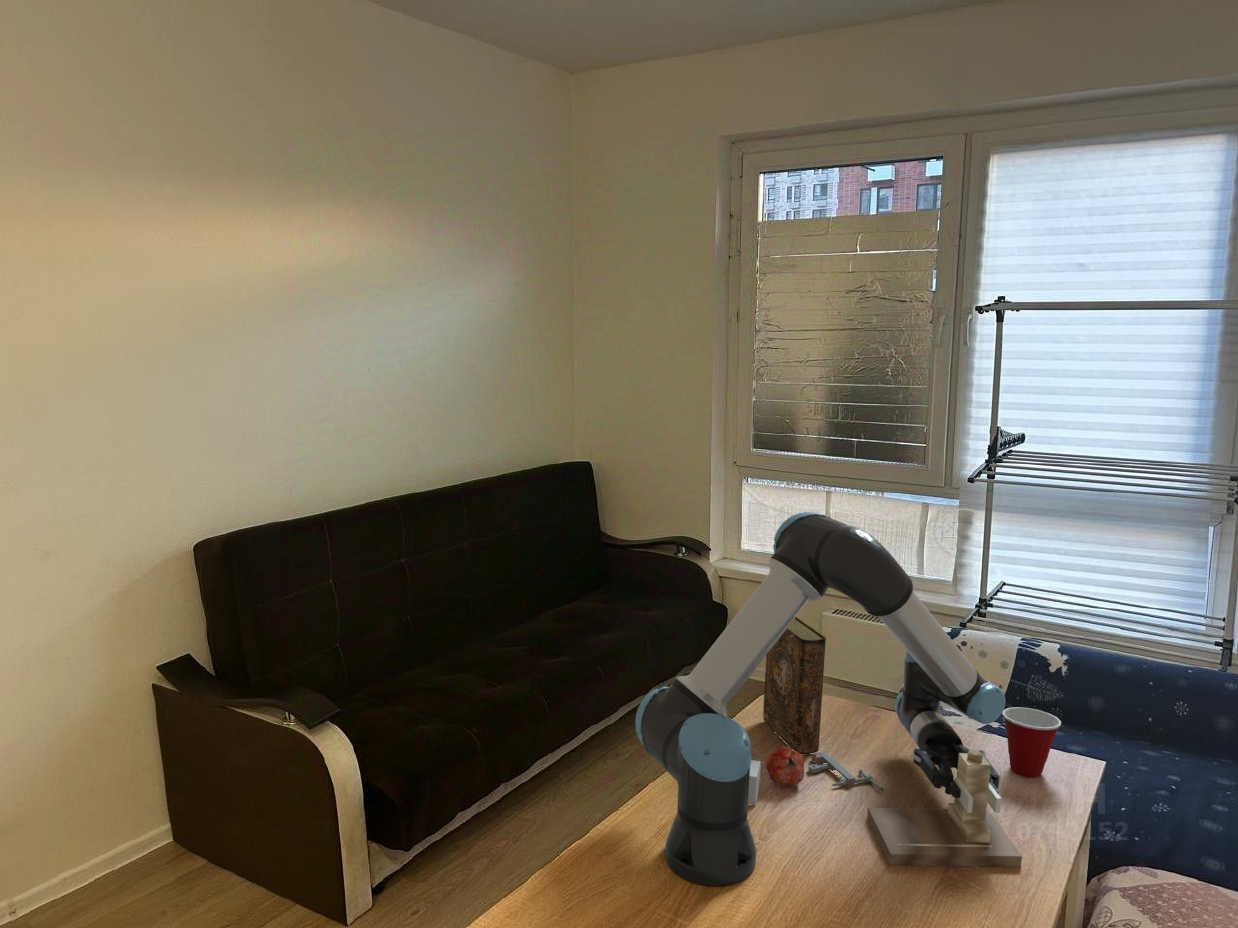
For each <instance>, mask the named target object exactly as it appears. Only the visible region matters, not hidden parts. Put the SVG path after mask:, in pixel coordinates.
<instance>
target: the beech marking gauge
mask: <svg viewBox="0 0 1238 928" xmlns="http://www.w3.org/2000/svg"><path fill="white" fill-rule="evenodd" d="M969 750H970V751H968V753H959V758H958V768H957V769H956V770H957V771H956V778H959V779H960V780H961V781H962V783H963V784H964V786H965V787H966V788H967V790H968V791H969V793H970V794H971V795H972V797H973V805H972V813H967V811H966V810H965V808H964V807H963V805H962V804H961V802H960V801H959V799H958V798H954V802H948V803H947V804H948V805H947V809H948V815H949V816H950V818H951V819H952V821H953V822H954V824H955V825H956V827H957V829H958V830H959V832H960V833H961V835H962V836H963V838H964V839H965V841H966V842H977V843H990V835H991V832H990V830H989V829H988V827H987V826H986V824H985V819H986V810H988V809H987V806H988V802H987V798H988V788H989V779H990V769H991V765H992V764H991V765H990V763H991V762H990V761H989V760H988V761H989V762H990V763H989V762H988V761H987V760H986V758H987V757H986V756H985V757H986V758H985V757H984V756H983V754H982V753H981V752H979V750H974V749H969Z"/></svg>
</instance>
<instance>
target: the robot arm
mask: <svg viewBox="0 0 1238 928" xmlns="http://www.w3.org/2000/svg"><path fill="white" fill-rule="evenodd" d="M773 540H774V544H773V546H772V547H773V554H772V555H771V556H770V558H769V559H768V564H769V565H768V566H769V572H768V574H767V575H766V576H765V577H764V579H763V580H762V582H761V583H760V584H759V586H758V587H757V588H756V590H755V591H753V593H752V594H751V596H750V597H749V598H748V600H747V601H746V602H745V603H744V604H743V606H742V607H741V609H739V611H738V612H737V613H736V615H735V616H734V617H733V619H732V620H731V621H730V623H729V624H728V625H727V626H726V627H725V629H723V631H722V633H720V635H719V636H718V638H716V640H715V642H714V643H713V644H712V645H711V646H710V648H709V649H708V650H707V651H706V653H705V654H704V656H703V657H702V658H701V659H700V661H699V662H698V663H697V664H696V666H695V667H694V668H693V670H692V671H691V672H690V673H689V674H687V675H681V676H676V677H675V678H674V680H673V681H672V682H671V684H670V685H669V686H661V687H660V688H655V689H653V690H651V691H650V692H649V693H648V694H646V696H645V697H644V698H643V699H642V700H641V702H640V704H639V706H638V708H637V711H636V714H635V723H634V724H635V732H636V736H637V738H638V740H639V741H640V743H641V744H642V745H643V747H644V749H645V750H646V752H647V753H648V754H649V755H650V756H651V757H653V758H654V759H655V760H656V761H657V762H658V763H659V764H660V765H661V766H662V767H663V769H665V770H666V772H667V773H668V774H670V776H671V777H672V778H673V779H674V780H675V781H676V783H677V810H676V815H675V817H674V819H673V822H672V824H671V827H670V830H669V832H668V835H667V837H666V841H665V853H664V854H665V861H666V863H667V865H668V866H669V868H670V869H671V870H672V872H674V874H676V875H678V876H679V877H681V878H683V879H684V880H685V881H686V880H687V881H688V882H692V883H695V884H697V885H703V886H710V887H711V886H712V887H719V886H721V887H723V886H729V885H733V884H737V883H740V882H742V881H744V880H745V879H747V878H749V877H750V875H751V874H752V873H753V872H754V870H755V869H756V868H755V867H756V864H757V863H756V862H757V861H756V860H757V848H756V844H755V840H754V837H753V833H752V831H751V828H750V827H751V826H750V823H749V820H748V813H749V812H748V811H749V805H748V795H749V776H750V765H751V760H753V759H752V752H751V751H752V750H751V740H750V736H749V734H748V732H747V731H746V729H745V728H744V726H742V725H741V724H740V723H739V722H737V721H736V720H735V719H732V718H730V717H728V709H727V708H728V705H729V704H730V703H731V701H732V700H733V698H734V697H735V696H736V695H737V693H738V692H739V691H740V690H741V688H742V687H743V686H744V685H745V684H746V682H747V681H748V679H749V678H750V677H751V676H752V674H753V673H754V672H755V670H756V669H757V668H758V667H759V665H760V664H761V662H762V661H763V660H764V659H765V657H766V655H767V653H768V652H769V651H770V649H771V648H772V647H773V646H774V644H775V643H776V642H777V640H778V639H779V638H780V637H781V635H782V634H783V633H784V631H785V630H786V629H787V628H788V626H789V625H790V624H791V622H792V621H793V620H794V618H795V617H796V616H797V617H798V614H800V612H801V611H802V610H803V608H804V607H805V606H806V604H808V602H812V601H820V600H821V599H822V598H823V596H824V595H825V593H827V591H828V590H829V589H833V590H835V591H837V592H839V593H841V594H843V595H844V596H847V597H848V598H850V599H852V600H853V601H854V602H856V603H858V604H859V605H860V606H861V607H862V608H863V610H865V611H866V613H867V614H868V615H870V616H872V617H874V618H879V619H880V621H881V622H882V623H883V624H884V625H885V626H886V628H887V629H888V630H889V631H890V632H891V634H893V636H894V637H895V638H896V640H898V642H899V643H900V644H901V645H902V646H903V648H904V649H905V650H906V652H905V659H904V668H903V669H904V672H903V683H902V684H903V685H902V687H903V688H902V692H900V693H899V695H898V697H896V699H895V702H894V709H895V714H896V715H897V717H898V720H899V721H900V723H901V725H902V726H903V727H904V728H905V730H906V732H907V733H908V734H909V735H910V737H911V739H912V740H913V742H914V743H915V744H916V746H917V747H918V748H914V749H913V759H912V762H913V763H914V764H915V765H916V766H918V767H919V768H920V769H921V771H922V772H923V774H924V775H925V776H926V778H927V779H928V780H929V781H930V783H931V784H932V786H933V788H935V789H942V788H944V789H945V790H944V793H945V794H946V795H949V796H950V795H951V796H952V797H953V798H954V799H955V798H958V799H959V801H960V802H961V804H962V805H963V807H964V808H965V810H966V811H967V813H972V805H973V797H972V795H971V794H970V793H969V791H968V790H967V788H966V787H965V786H964V784H963V783H962V781H961V780H960V779H959V778H957V777H955V776H954V774H953V770H952V768H954V769H956V770H957V768H958V758H959V753H968V751H970V750H971V749H969V748H967V747H966V746H964V744H963V741H962V739H961V738H960V736H959V735H958V734H957V732H956V731H955V730H954V728H953V726H952V725H951V724H950V723H949V721H948V720H947V719H946V718H945V717H944V715H943V714H942V713H941V704H942V703H943V704H945V705H947V706H949V707H951V708H952V709H954V710H956V711H957V712H959V713H961V714H963V715H964V716H966V717H967V718H968V719H969V720H974V721H976V722H978V723H980V724H983V725H988V724H989V725H990V724H993V723H994V722H995V721H997V720H998V719H999V717H1000V716H1001V715H1003V714H1002V713H1003V710H1005V707H1006V697H1005V693H1004V692H1003V690H1002V689H1001V688H999V687H998V686H996V685H995V684H994V683H993V682H990V681H987V680H985V679H984V678H983V677H982V675H981V673H979V672H978V670H977V669H976V668H975V667H974V666H973V665H972V663H971V662H970V661H969V660H968V659H967V657H966V656H965V654H964V653H963V652H962V651H961V649H960V648H959V647H958V645H956V643H955V642H954V641H953V640H952V638H951V636H949V635H948V633H947V632H946V631H945V630H944V628H943V627H942V625H941V624H940V623H939V622H938V620H936V618H935V616H934V615H933V613H931V612H930V611H929V609H928V608H927V607H926V605H925V604H924V602H922V601H921V599H920V598H919V597H918V596H917V594H916V593H915V592H914V589H915V588H914V582H913V581H912V578H911V577H910V576H909V575H908V573H907V572H906V571H905V570H904V568H903V567H902V566H901V564H899V562H898V561H897V560H896V559H895V557H894V556H893V555H892V554H891V553H890V551H888V550H887V549H886V547H885V546H884V545H882V543H881V542H879V540H877V539H876V538H875V537H874V536H873V535H871V534H870V533H869V532H867V531H865V530H864V529H861V528H859V527H856V526H853V525H851V524H847V523H844V522H843V521H839V520H836V519H834V518H832V517H830V516H828V515H826V514H821V513H817V512H816V513H815V512H810V511H807V512H798V513H795V514H793V515H792V516H790V517H788V518H787V519H785V520H784V521H783V522H782V524H781V525H780V526H779V527H778V529H777V530H776V533H775V534H774V539H773ZM941 702H942V703H941ZM978 751H979V752H981V753H982V754H983V756H984V757H985V758H986V760H987V761H988V762H989V763H990V765H991V769H990V779H989V788H988V798H987V805H989V807H990V808H991V810H992V811H993V812H994V814H1000V813H1001V805H1002V804H1001V803H1002V797H1001V796H1000V795H999V788H1000V787H999V786H1000V774H999V773H998V771H997V770H996V769H995V767H994V766H993V765H992V764H991V762H990V761H989V759H988V758H987V757H986V751H985V750H982V749H979V750H978Z"/></svg>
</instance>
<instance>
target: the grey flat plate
mask: <svg viewBox="0 0 1238 928" xmlns="http://www.w3.org/2000/svg"><path fill="white" fill-rule="evenodd" d="M866 816H867V817H866V819H867V820H868V822H869V825H870V827H871V829H872V831H873V833H874V835H875V837H876V839H877V842H878V843H879V845H880V848H881V850H882V852H883V854H884V856H885V858H886V860H887V862H888V865H889V866H927V867H928V866H929V867H930V866H932V867H934V866H935V867H937V866H939V867H985V868H986V867H989V868H991V867H992V868H993V867H994V868H995V867H996V868H1021V867H1022V862H1023V861H1022V859H1023V855H1022V854H1021V853H1020V851H1019V850H1018V849H1017V847H1016V846H1015V844H1014V843H1013V842H1012V840H1011V839H1010V838H1009V836H1008V835H1007V833H1006V832H1005V831H1004V829H1003V828H1002V827H1001V825H1000V824H999V822H998V821H997V820H996V818H995V816H994V815H993V814H992V813H991V812H990V810H989V809H986V819H985V824H986V826H987V827H988V829H989V830H990V832H991V835H990V843H977V842H966V841H965V839H964V838H963V836H962V835H961V833H960V832H959V830H958V829H957V827H956V825H955V824H954V822H953V821H952V819H951V818H950V816H949V815H948V808H907V807H905V808H903V807H902V808H899V807H895V808H894V807H889V808H888V807H867V815H866Z"/></svg>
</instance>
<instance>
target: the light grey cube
mask: <svg viewBox="0 0 1238 928" xmlns="http://www.w3.org/2000/svg"><path fill="white" fill-rule="evenodd" d="M761 763H762V761H760V760H753V759H751V765H750V776H749V795H748V804H751V805H757V802H758V798H757V797H759V794H758V793H760V789H761V788H760V786H761V769H762V766H761V765H762V764H761ZM756 801H757V802H756ZM751 805H750V806H751Z"/></svg>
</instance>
